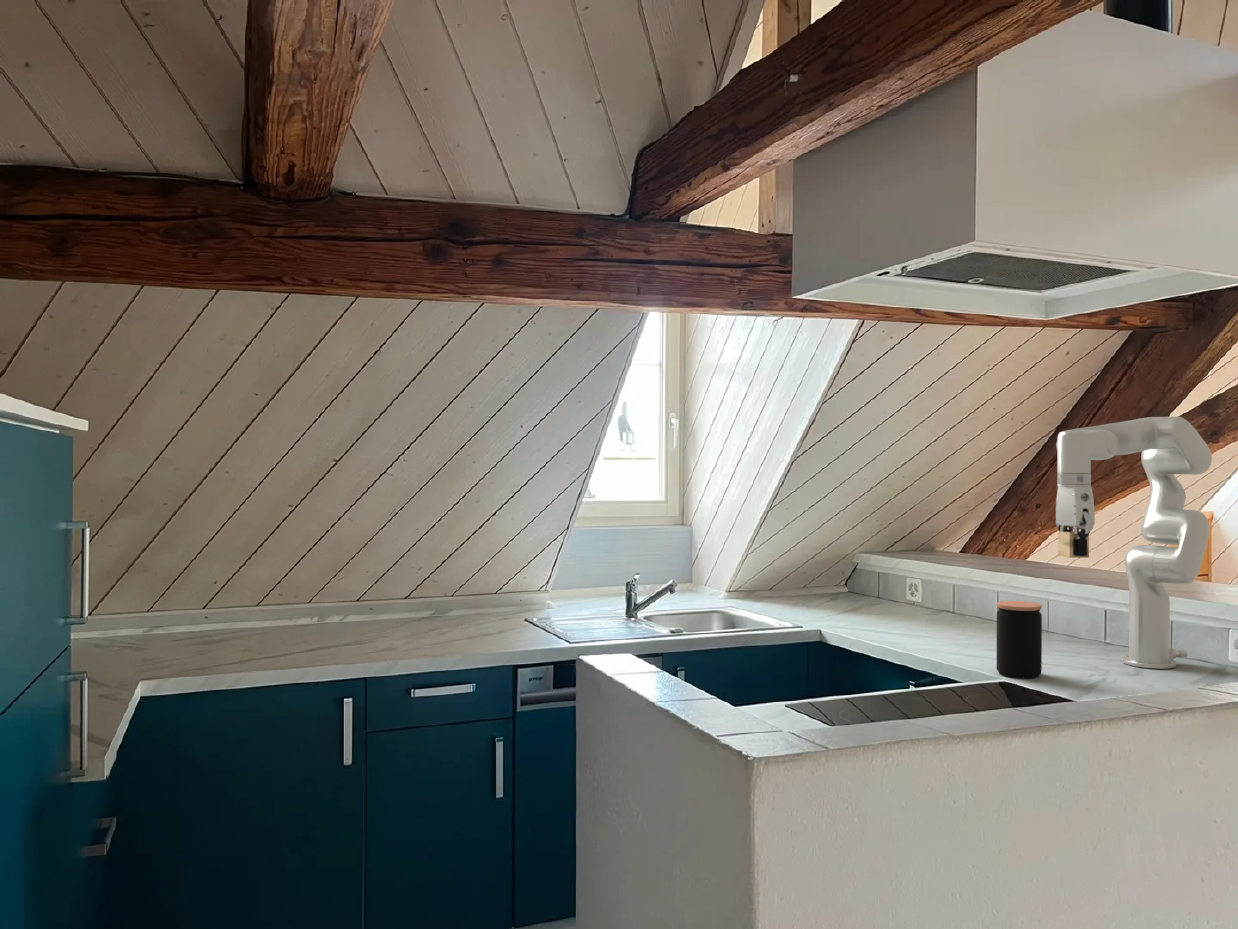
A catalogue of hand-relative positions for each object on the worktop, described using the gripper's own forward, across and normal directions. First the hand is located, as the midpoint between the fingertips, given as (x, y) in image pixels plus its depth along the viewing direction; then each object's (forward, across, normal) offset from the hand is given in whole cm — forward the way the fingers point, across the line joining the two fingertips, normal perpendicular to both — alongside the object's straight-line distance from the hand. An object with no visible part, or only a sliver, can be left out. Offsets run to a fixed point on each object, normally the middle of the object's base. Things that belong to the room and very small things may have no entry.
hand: (1073, 553), depth 245 cm
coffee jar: (+32, +8, +10) cm, 34 cm away
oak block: (+1, 0, 0) cm, 1 cm away
